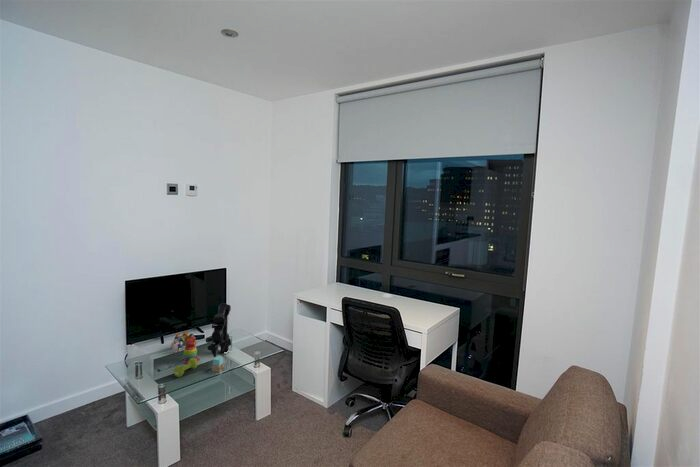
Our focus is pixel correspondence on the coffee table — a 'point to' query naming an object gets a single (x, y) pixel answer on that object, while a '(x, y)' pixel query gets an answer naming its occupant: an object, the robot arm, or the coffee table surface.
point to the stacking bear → (190, 350)
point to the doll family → (177, 342)
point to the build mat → (214, 372)
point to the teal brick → (217, 361)
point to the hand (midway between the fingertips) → (218, 354)
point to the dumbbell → (185, 367)
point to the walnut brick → (217, 368)
